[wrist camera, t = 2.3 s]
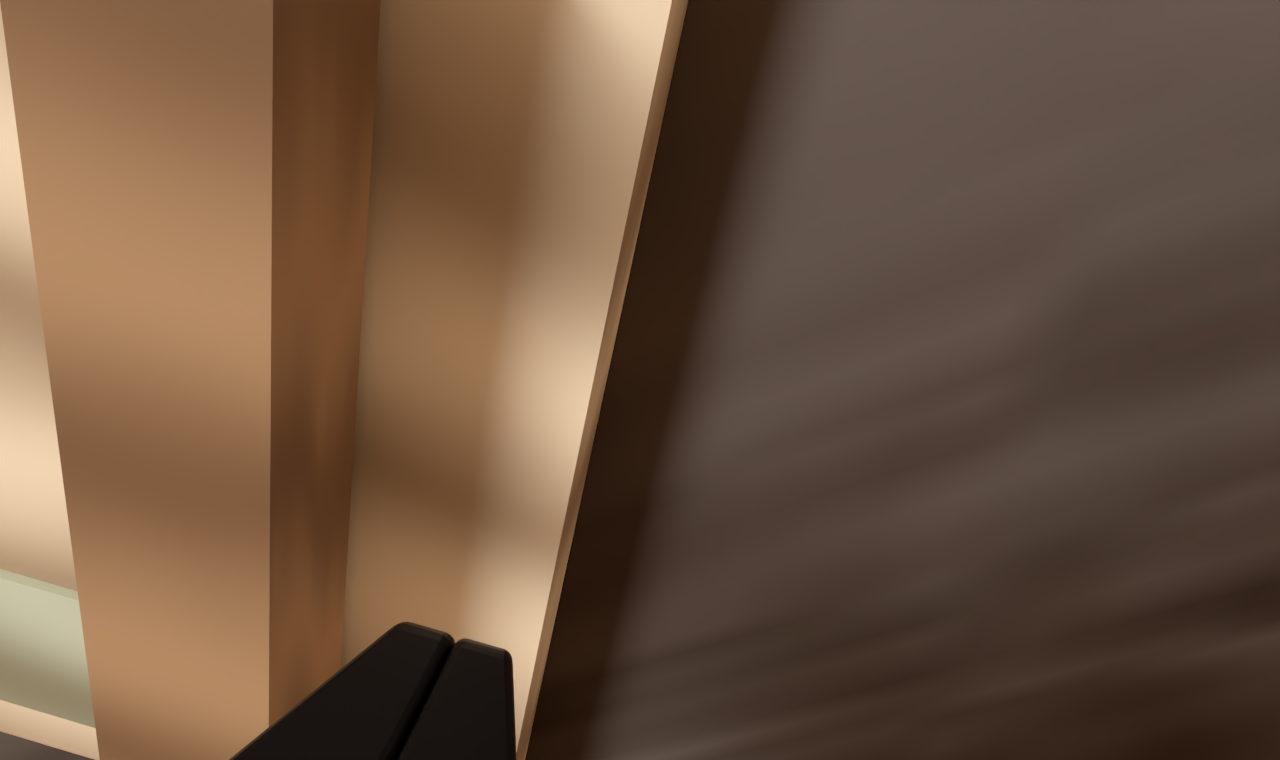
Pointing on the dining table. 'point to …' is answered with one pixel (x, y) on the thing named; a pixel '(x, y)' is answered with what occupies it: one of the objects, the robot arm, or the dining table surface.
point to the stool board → (411, 340)
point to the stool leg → (200, 342)
